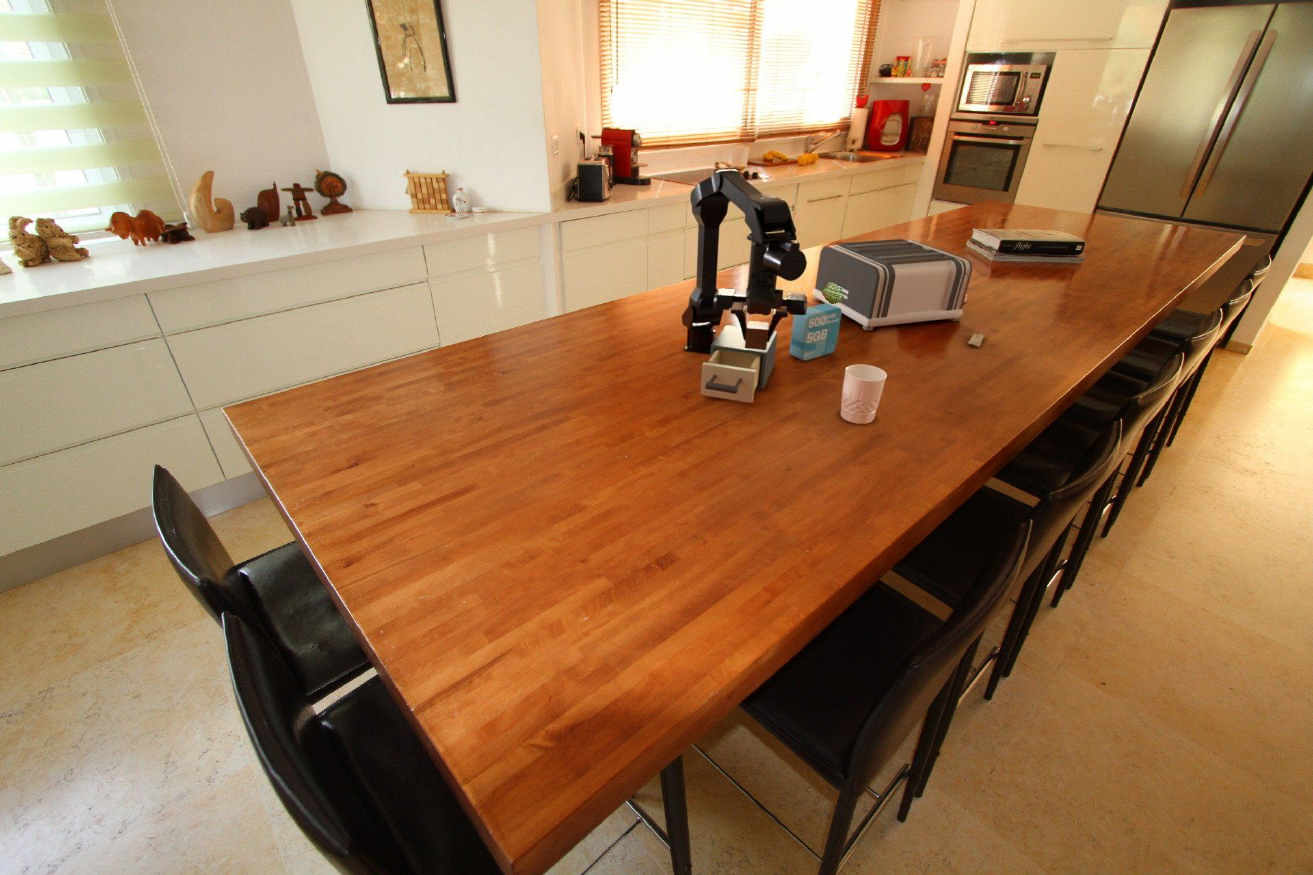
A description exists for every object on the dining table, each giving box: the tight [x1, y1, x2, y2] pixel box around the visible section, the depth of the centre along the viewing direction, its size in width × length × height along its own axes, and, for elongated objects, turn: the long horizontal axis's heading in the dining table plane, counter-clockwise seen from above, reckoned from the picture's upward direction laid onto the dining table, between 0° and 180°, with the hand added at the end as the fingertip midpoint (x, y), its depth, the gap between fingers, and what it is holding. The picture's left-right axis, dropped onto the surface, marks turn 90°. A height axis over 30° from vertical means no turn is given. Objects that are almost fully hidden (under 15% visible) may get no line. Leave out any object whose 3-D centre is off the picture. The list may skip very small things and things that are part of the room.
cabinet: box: [709, 324, 779, 391], centre depth 137 cm, size 14×12×9 cm
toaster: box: [812, 238, 973, 331], centre depth 176 cm, size 31×36×18 cm
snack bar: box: [967, 333, 986, 348], centre depth 157 cm, size 10×2×3 cm
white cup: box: [839, 364, 888, 425], centre depth 120 cm, size 8×8×10 cm
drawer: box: [700, 349, 763, 404], centre depth 128 cm, size 18×11×7 cm, turn 160°
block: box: [745, 320, 770, 350], centre depth 125 cm, size 4×4×4 cm
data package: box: [789, 302, 843, 362], centre depth 147 cm, size 12×4×12 cm, turn 122°
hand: (756, 340), depth 126 cm, fingers closed on block, 4 cm apart
